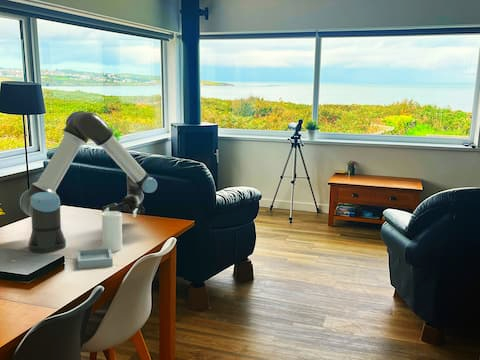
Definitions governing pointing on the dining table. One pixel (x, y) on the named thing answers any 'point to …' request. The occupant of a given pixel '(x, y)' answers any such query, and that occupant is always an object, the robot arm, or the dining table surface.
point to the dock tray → (94, 258)
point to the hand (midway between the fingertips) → (119, 214)
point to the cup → (112, 230)
